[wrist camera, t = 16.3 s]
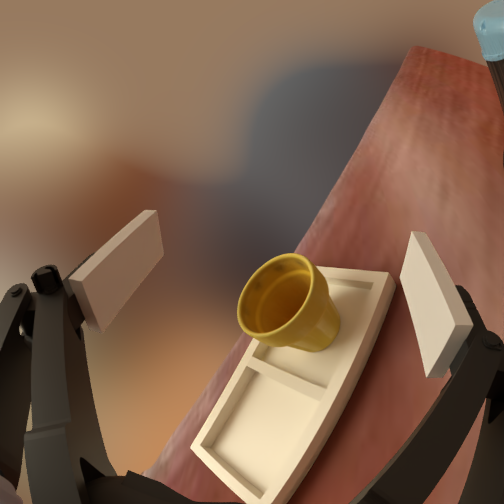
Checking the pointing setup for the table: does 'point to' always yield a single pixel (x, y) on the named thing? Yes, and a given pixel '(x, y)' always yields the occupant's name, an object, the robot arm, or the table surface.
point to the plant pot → (289, 305)
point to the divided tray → (292, 396)
